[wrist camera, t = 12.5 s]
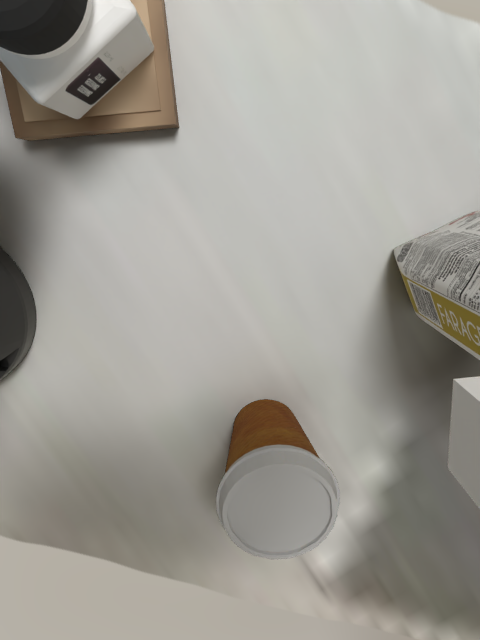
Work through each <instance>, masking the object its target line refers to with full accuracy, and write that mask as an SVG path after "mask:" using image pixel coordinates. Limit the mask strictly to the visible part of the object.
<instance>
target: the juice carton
mask: <svg viewBox="0 0 480 640" xmlns="http://www.w3.org/2000/svg"><path fill="white" fill-rule="evenodd" d="M394 255H395V259H396V262H397V264H398V267H399V270H400V273H401V275H402V278H403V281H404V284H405V287H406V289H407V292H408V295H409V298H410V300H411V303H412V306H413V308H414V311H415V313H416V314H417V316H418V317H419V318H420V319H422V320H423V321H425V322H426V323H427V324H429V325H430V326H432V327H433V328H434V329H436V330H437V331H439V332H440V333H442V334H443V335H444V336H446V337H447V338H449V339H450V340H452V341H453V342H454V343H456V344H457V345H459V346H460V347H462V348H463V349H464V350H466V351H467V352H469V353H470V354H472V355H473V356H474V357H476V358H477V359H479V360H480V211H477V212H472V213H469V214H467V215H465V216H463V217H460V218H458V219H456V220H454V221H452V222H450V223H448V224H446V225H444V226H443V227H440V228H438V229H436V230H434V231H432V232H430V233H427V234H425V235H423V236H420V237H418V238H415V239H413V240H411V241H408V242H406V243H404V244H402V245H400V246H398V247H396V248H395V249H394Z"/></svg>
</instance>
